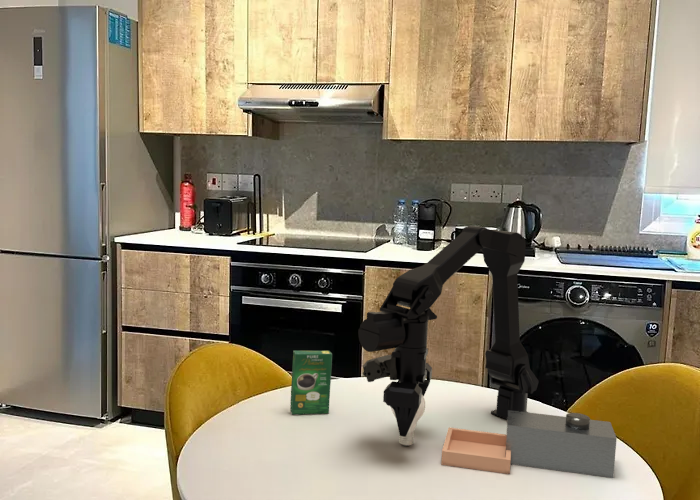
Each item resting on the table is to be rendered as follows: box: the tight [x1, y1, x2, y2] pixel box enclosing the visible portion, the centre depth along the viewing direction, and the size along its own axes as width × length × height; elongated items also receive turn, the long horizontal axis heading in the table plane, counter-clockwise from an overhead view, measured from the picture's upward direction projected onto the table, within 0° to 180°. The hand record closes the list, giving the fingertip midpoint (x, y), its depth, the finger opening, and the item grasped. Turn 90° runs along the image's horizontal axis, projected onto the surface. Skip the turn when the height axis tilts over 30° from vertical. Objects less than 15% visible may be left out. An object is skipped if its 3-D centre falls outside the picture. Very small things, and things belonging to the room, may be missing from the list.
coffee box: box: [289, 350, 333, 416], centre depth 139 cm, size 8×3×13 cm, turn 102°
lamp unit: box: [505, 410, 618, 479], centre depth 120 cm, size 18×8×9 cm, turn 76°
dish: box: [440, 426, 511, 475], centre depth 121 cm, size 12×12×2 cm
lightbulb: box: [390, 395, 426, 447], centre depth 124 cm, size 6×6×11 cm
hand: (407, 427), depth 124 cm, fingers open, 9 cm apart
